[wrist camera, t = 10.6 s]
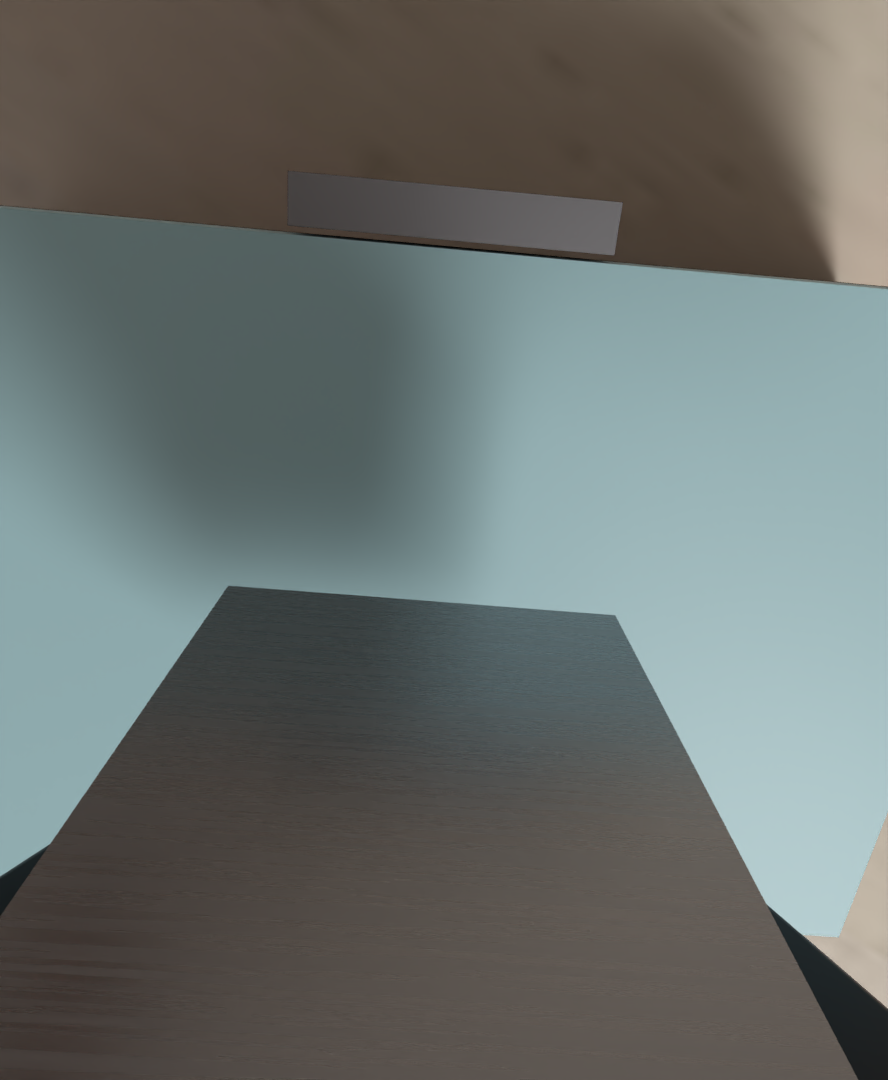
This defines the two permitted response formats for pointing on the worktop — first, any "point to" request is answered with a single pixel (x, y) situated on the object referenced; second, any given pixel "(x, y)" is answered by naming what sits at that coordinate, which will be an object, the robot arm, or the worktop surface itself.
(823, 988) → the robot arm
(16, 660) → the lid
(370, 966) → the block
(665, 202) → the worktop surface
